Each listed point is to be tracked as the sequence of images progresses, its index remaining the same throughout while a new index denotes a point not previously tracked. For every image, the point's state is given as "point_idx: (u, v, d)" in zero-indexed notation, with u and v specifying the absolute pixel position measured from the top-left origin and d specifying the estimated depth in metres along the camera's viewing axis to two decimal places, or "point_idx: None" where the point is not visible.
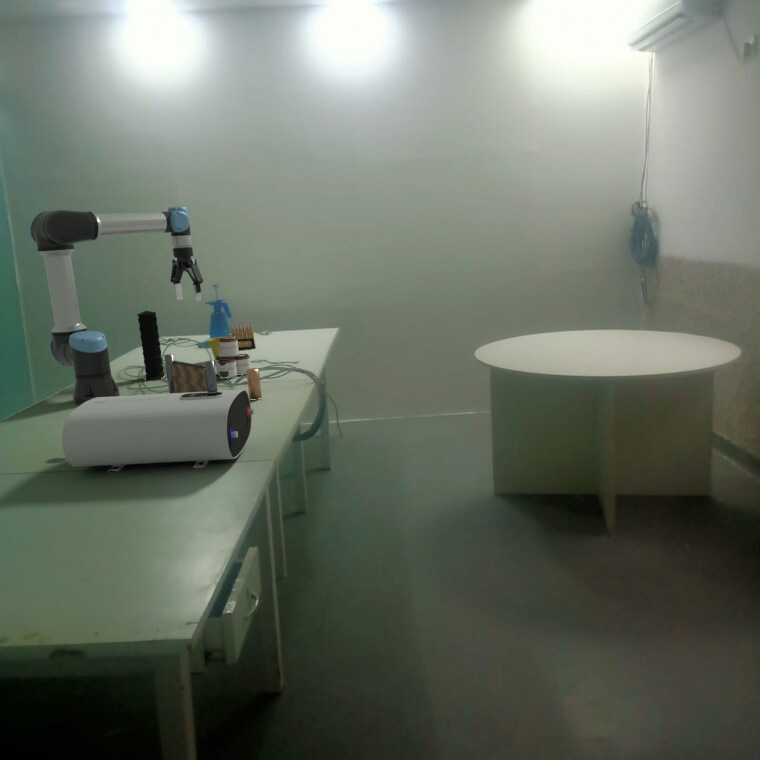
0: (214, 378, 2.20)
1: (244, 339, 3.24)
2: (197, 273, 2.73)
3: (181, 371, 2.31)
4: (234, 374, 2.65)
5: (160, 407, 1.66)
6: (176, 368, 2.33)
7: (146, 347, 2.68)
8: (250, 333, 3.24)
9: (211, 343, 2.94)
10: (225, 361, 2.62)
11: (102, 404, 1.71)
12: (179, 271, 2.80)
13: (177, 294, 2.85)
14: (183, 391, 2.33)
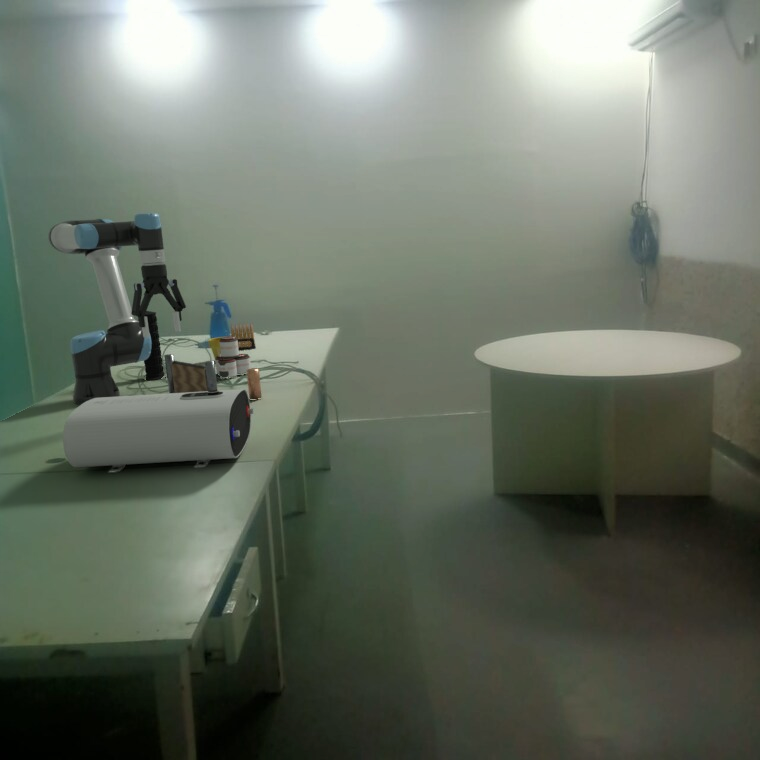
0: (214, 378, 2.20)
1: (244, 339, 3.24)
2: (134, 303, 2.14)
3: (181, 371, 2.31)
4: (234, 374, 2.65)
5: (161, 407, 1.66)
6: (176, 368, 2.33)
7: None
8: (250, 333, 3.24)
9: (211, 343, 2.94)
10: (225, 361, 2.62)
11: (102, 404, 1.71)
12: (163, 294, 2.22)
13: (174, 324, 2.26)
14: (183, 391, 2.33)
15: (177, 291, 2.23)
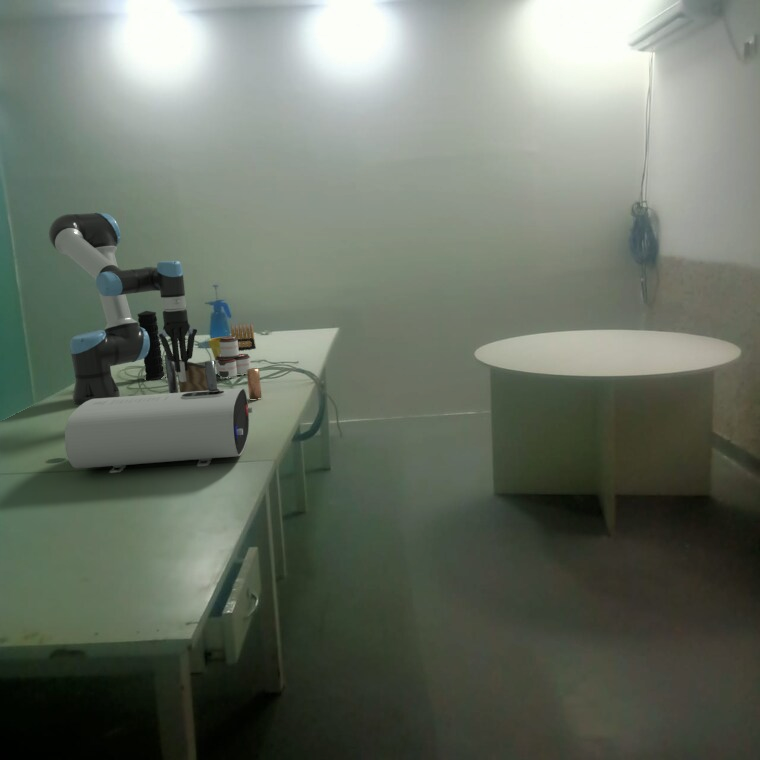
0: (214, 378, 2.20)
1: (244, 339, 3.24)
2: (166, 351, 2.25)
3: None
4: (234, 374, 2.65)
5: (163, 406, 1.67)
6: None
7: None
8: (250, 333, 3.24)
9: (211, 343, 2.94)
10: (225, 361, 2.62)
11: (102, 405, 1.70)
12: (179, 340, 2.27)
13: None
14: (187, 390, 2.34)
15: (192, 340, 2.28)
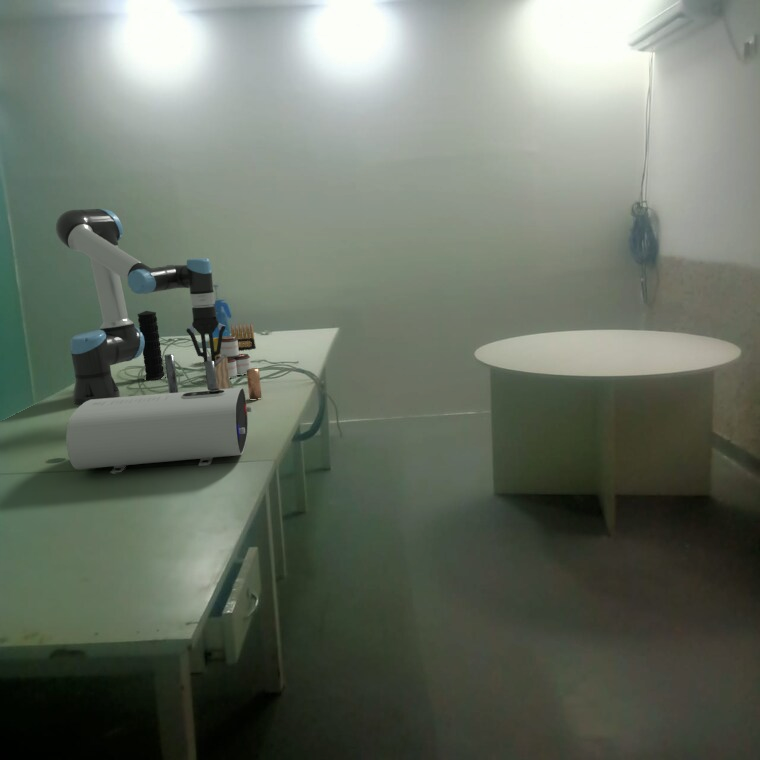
0: (214, 378, 2.20)
1: (244, 339, 3.24)
2: None
3: None
4: (234, 374, 2.65)
5: (165, 406, 1.67)
6: None
7: (146, 347, 2.68)
8: (250, 333, 3.24)
9: None
10: None
11: (102, 405, 1.70)
12: None
13: None
14: None
15: (220, 336, 2.31)
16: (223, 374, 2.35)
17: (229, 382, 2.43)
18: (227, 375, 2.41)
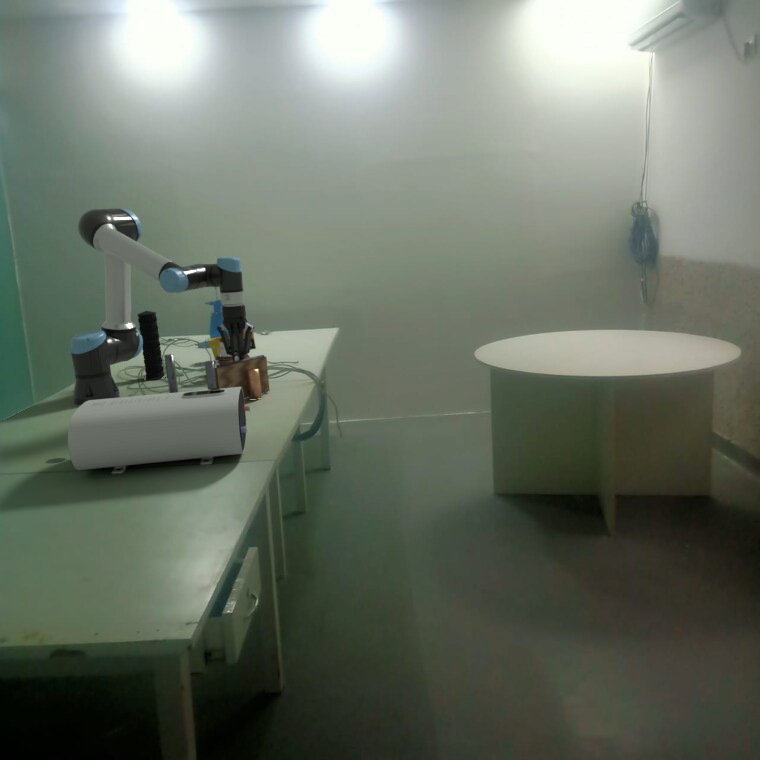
0: (214, 378, 2.20)
1: None
2: None
3: None
4: None
5: (166, 406, 1.67)
6: None
7: (146, 347, 2.68)
8: None
9: (211, 343, 2.94)
10: (225, 361, 2.62)
11: (102, 406, 1.69)
12: None
13: None
14: None
15: (246, 337, 2.28)
16: None
17: (267, 384, 2.37)
18: (262, 376, 2.35)
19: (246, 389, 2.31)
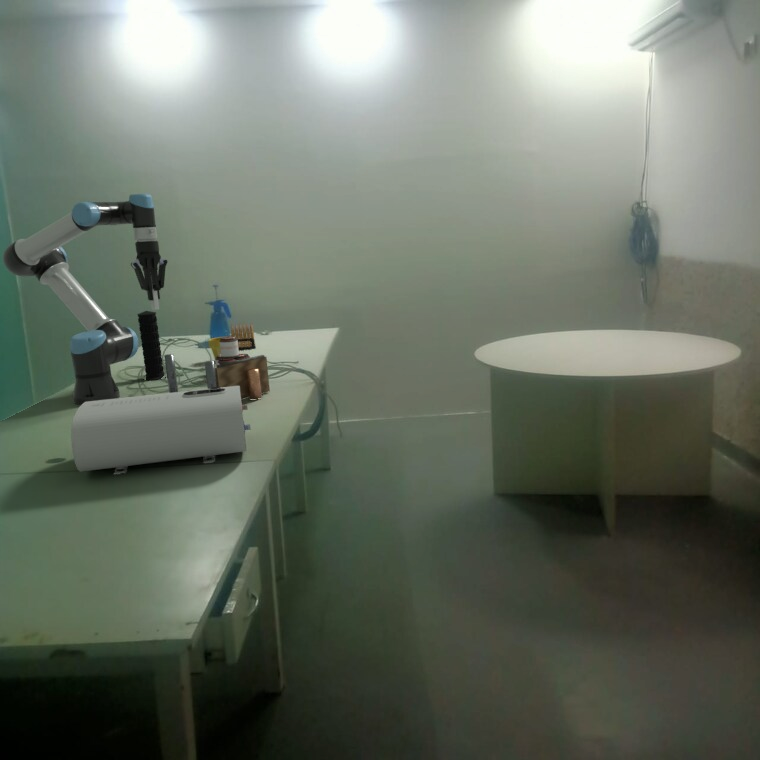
0: (214, 378, 2.20)
1: (244, 339, 3.24)
2: (139, 279, 2.38)
3: None
4: None
5: (169, 405, 1.68)
6: None
7: (146, 347, 2.68)
8: (250, 333, 3.24)
9: (211, 343, 2.94)
10: (225, 361, 2.62)
11: (102, 407, 1.69)
12: (151, 270, 2.41)
13: None
14: None
15: (163, 270, 2.43)
16: None
17: (267, 384, 2.37)
18: (262, 376, 2.35)
19: (246, 389, 2.31)
